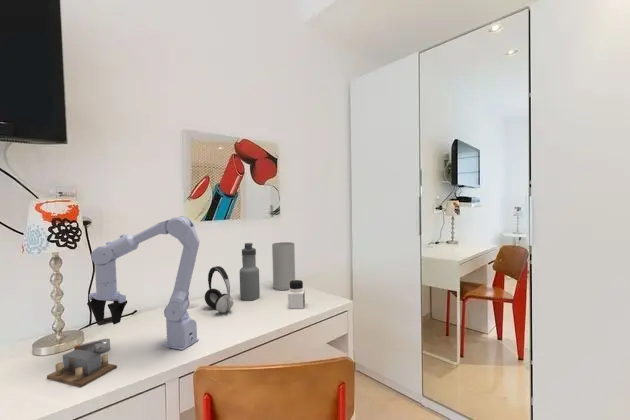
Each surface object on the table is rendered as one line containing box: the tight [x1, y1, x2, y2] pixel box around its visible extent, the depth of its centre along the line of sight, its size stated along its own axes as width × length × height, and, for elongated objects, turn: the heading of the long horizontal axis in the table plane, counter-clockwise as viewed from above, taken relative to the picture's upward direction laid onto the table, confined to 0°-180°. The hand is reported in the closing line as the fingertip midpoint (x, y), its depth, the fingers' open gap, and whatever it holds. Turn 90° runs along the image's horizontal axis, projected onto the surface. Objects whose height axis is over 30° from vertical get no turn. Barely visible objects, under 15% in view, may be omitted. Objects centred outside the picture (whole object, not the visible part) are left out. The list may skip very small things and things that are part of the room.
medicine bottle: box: [287, 279, 306, 310], centre depth 143 cm, size 7×7×12 cm
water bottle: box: [239, 242, 261, 301], centre depth 157 cm, size 10×10×28 cm
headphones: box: [204, 265, 234, 313], centre depth 140 cm, size 19×8×20 cm, turn 44°
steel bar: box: [62, 349, 102, 376], centre depth 89 cm, size 10×4×4 cm, turn 71°
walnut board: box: [46, 351, 118, 388], centre depth 89 cm, size 14×10×4 cm
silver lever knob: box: [73, 338, 111, 354], centre depth 101 cm, size 4×9×4 cm, turn 126°
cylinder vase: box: [271, 241, 296, 291], centre depth 175 cm, size 12×12×25 cm
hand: (108, 322), depth 103 cm, fingers open, 7 cm apart
